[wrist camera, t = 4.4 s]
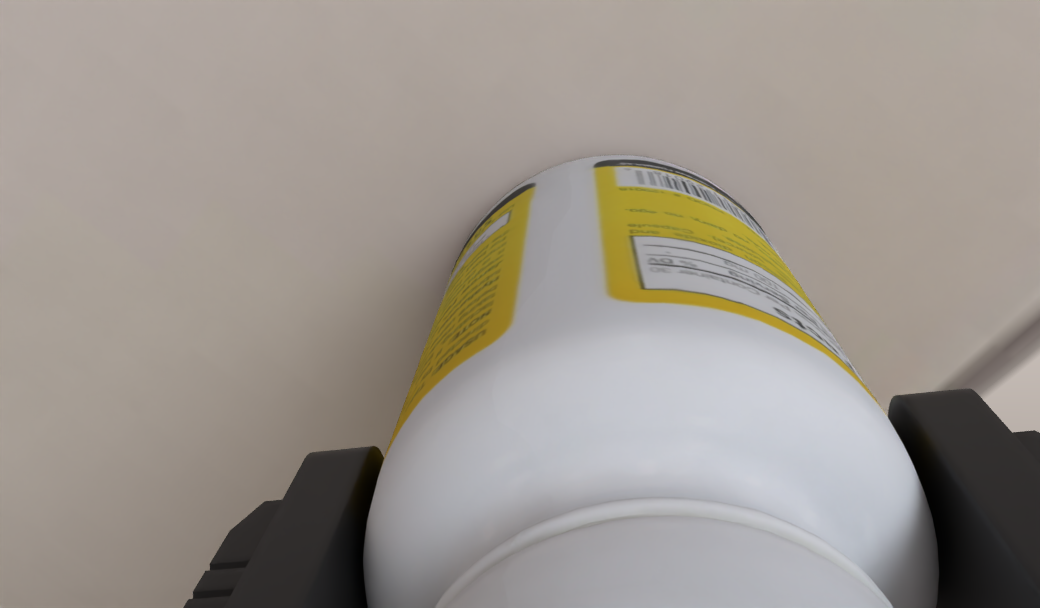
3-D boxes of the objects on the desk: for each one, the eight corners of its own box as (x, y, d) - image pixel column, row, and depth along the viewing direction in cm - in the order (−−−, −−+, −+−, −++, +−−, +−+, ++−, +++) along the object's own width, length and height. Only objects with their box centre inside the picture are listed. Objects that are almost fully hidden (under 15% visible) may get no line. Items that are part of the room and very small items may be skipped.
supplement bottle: (502, 483, 16) (403, 1158, 7) (408, 197, 15) (117, 613, 5) (808, 420, 16) (1134, 1090, 6) (749, 107, 14) (1083, 421, 5)
